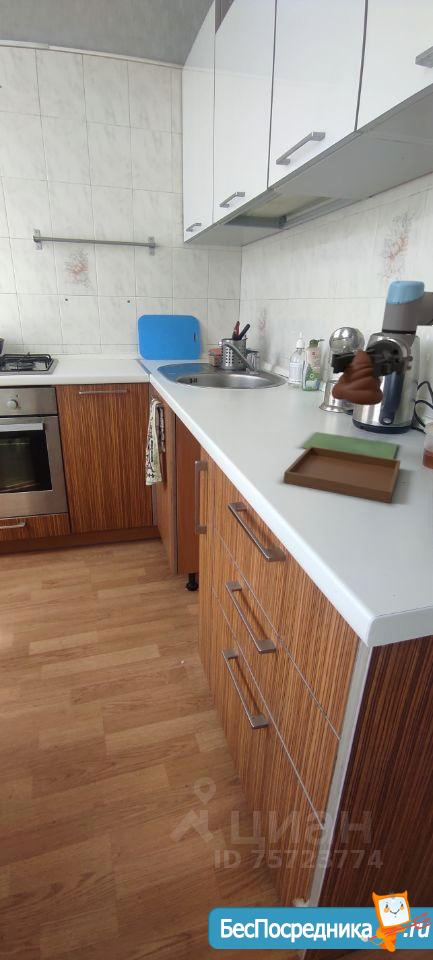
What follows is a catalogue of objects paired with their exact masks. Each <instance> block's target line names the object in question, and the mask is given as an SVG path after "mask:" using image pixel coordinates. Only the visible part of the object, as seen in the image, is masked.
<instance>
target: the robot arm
mask: <svg viewBox="0 0 433 960" xmlns="http://www.w3.org/2000/svg"><path fill="white" fill-rule="evenodd" d="M425 288H426V287H425V283H424V282H423V281H420V280H419V281H418V280H393V281H392V282H391V283H390V284H389V285H388V291H387V296H386V298H385V306H384V312H383V319H382V326H381V332H380V334H381V333H383V335H384V336H386V337H389V338H387V339H382V340H380V339H379V340H376V341H374V342H372V343H371V344H369V345H368V347H366V348H365V350H364V351H365V352H366V353H367V354H368V356H369V357H370V359H371V363H372V364H373V366H374V367H373V373H372V378H378V377H380V376H383V377H388V376H390V375H393V373H395V375H397V376H403V375H404V374H405V373H406V372H407V371H411V370H412V366H413V361H414V357H412V356H410V354H411V349H410V347H411V346H412V344H413V342H414V343H415V341H416V334H417V330H418V327H433V326H432V325H433V291H425ZM390 333H392V334H390ZM406 334H411V335H406ZM414 340H415V341H414ZM356 354H357V353H355V351H352V350H350V349H348V350H346V351H342V352H337V353H336V352H334V353H332V355H331V362H330V367H331V368H332V374H334V375H337V374H341V373H342V374H343V373H344V370H345V369H346V366H347V365H349V364H351V363H352V361H353V359H354V358H355V356H356Z"/></svg>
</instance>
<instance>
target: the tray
mask: <svg viewBox="0 0 433 960" xmlns="http://www.w3.org/2000/svg"><path fill="white" fill-rule="evenodd" d="M401 461H402V460H399V459H394V458H393V459H387V458H381V457H375V456H369V455H363V454H357V453H350V452H344V451H338V450H332V449H326V448H319V447H313V446H309V447H308V448H307V449H306V448H305V450H304V451H303V452H302V453H301V454H300V456H298V457H297V458H296V459H295V461H294V462H293V463H291V465H289V467H288V468H287V469H285V471H284V472H283V473H284V474H283V483H284V484H289V485H295V486H300V487H304V488H311V489H315V490H321V491H325V492H330V493H336V494H340V495H346V496H351V497H355V498H360V499H365V500H370V501H371V500H372V501H376V502H381V503H386V504H390V503H391V501H392V497H393V494H394V490H395V485H396V483H397V479H398V476H399V471H400V466H401Z"/></svg>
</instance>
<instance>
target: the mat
mask: <svg viewBox="0 0 433 960" xmlns="http://www.w3.org/2000/svg"><path fill="white" fill-rule="evenodd" d="M309 446H313V447H319V448H326V449H332V450H338V451H344V452H350V453H357V454H363V455H369V456H375V457H381V458H387V459H394V458H395V455H396V452H397V449H398V446H399V444H397V443H392V442H385V441H384V442H383V441H378V440H371V439H364V438H356V437H351V436H345V435H338V434H331V433H323V432H315V433H314V434H313V435H312V436H311V437H310V438H309V439H308V440H307V441H306V442H305V443H304V444H303V445H302V446H301V447H302V449H305V450H306V449H307V448H308V447H309Z"/></svg>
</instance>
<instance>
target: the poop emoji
mask: <svg viewBox="0 0 433 960" xmlns="http://www.w3.org/2000/svg"><path fill="white" fill-rule="evenodd" d="M365 351H366V350H363V349H360V348H358V349H357V351H356V353H355V354H356V356H355V358H354V359H353V361H352V363H351V364H349V365H347V366H346V369H345V370H344V373H342V374H341V375H340V376H339V377H338V380H337V383H335V384H334V385H333V387H332V389H331V396H332V398H333V399H335V400H345V401H347V402H348V403H351V404H355V405H359V406H375V405H379V404H381V402H382V401H383V400H384V391H383V390H382V389H381V386H382V384H383V382H384V376H380V377H378V378H372V373H373V367H374V366H373V364H372V363H371V359H370V357H369V356H368V354H367V353H366V352H365Z"/></svg>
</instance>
